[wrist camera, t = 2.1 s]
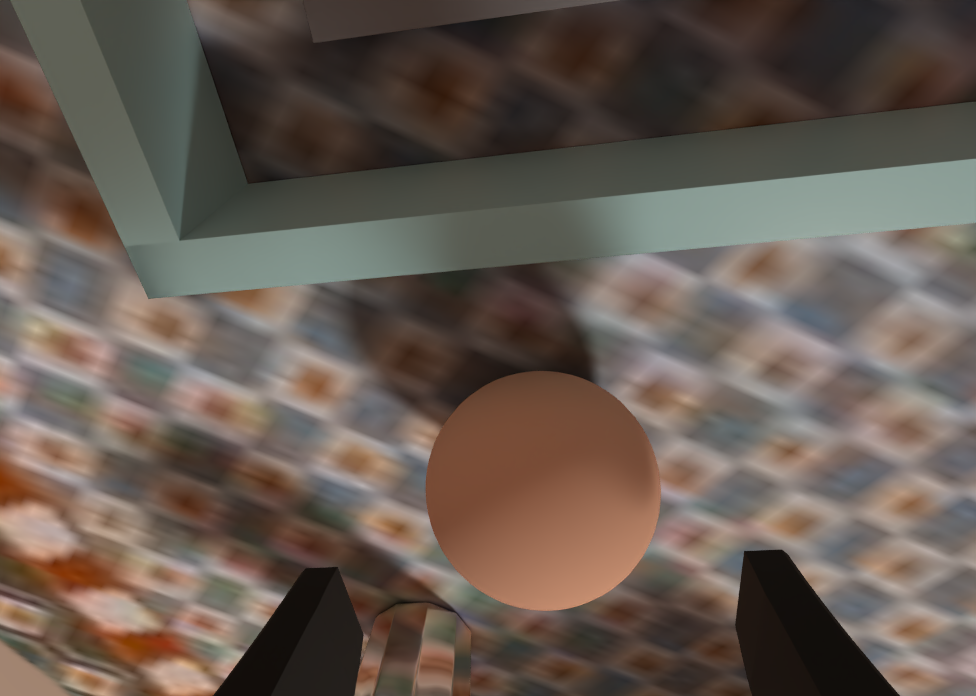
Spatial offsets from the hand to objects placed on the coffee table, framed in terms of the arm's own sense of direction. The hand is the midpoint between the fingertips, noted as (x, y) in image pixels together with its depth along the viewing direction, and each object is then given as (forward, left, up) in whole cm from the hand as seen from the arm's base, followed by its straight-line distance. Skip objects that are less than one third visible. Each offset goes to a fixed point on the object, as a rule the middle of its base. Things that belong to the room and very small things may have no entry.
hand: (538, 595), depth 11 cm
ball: (0, 0, -5) cm, 5 cm away
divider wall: (-2, -8, -5) cm, 10 cm away
